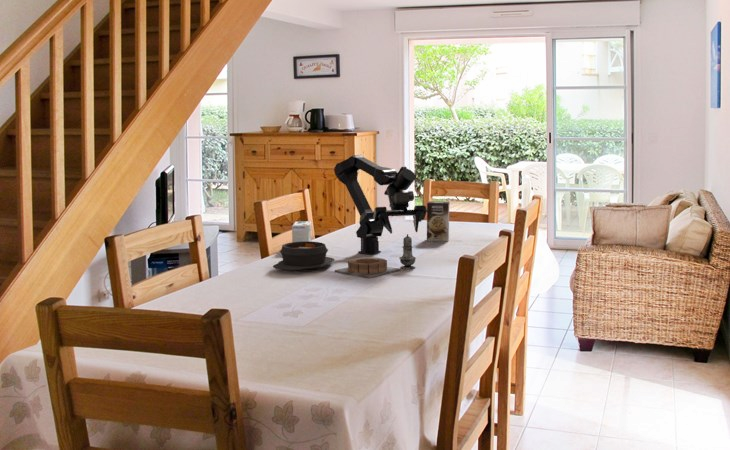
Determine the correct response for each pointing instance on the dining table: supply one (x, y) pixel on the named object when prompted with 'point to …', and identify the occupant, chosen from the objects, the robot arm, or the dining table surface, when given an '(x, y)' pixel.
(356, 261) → the walnut collar
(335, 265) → the dining table surface
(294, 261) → the casserole
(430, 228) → the coffee box
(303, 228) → the light bulb box
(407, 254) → the salt shaker
